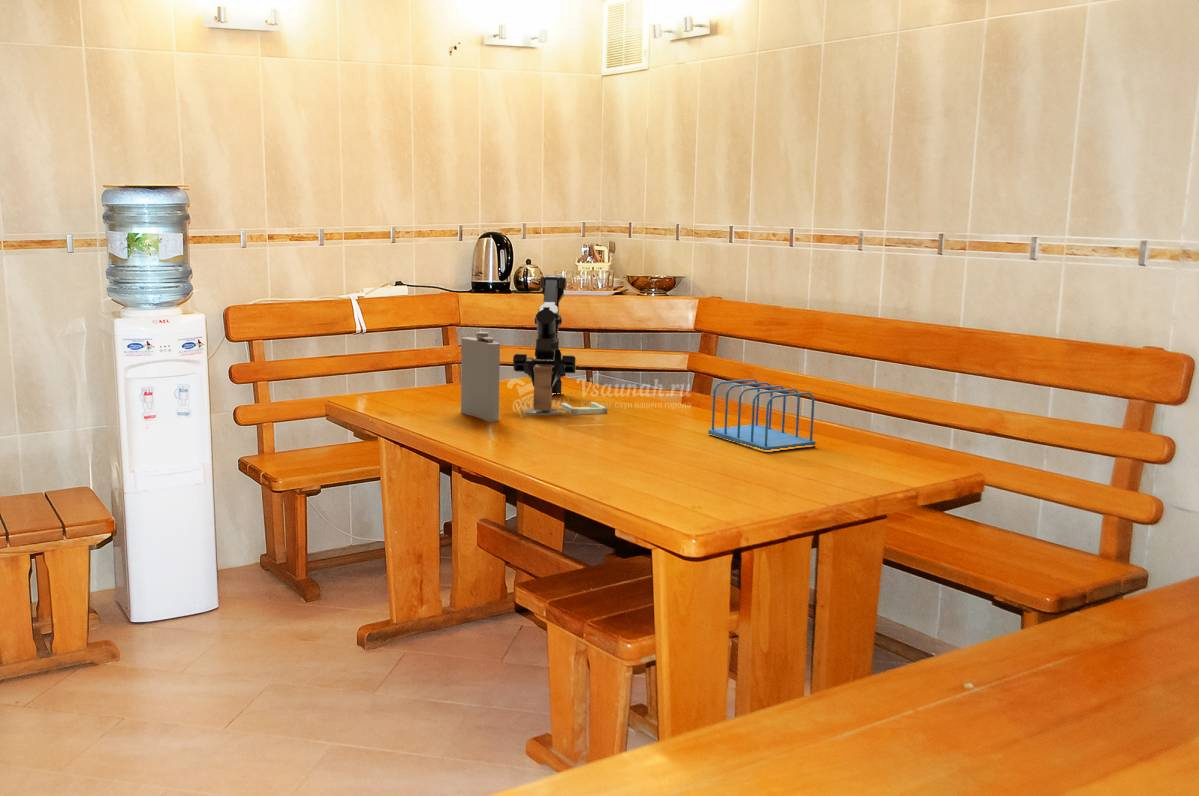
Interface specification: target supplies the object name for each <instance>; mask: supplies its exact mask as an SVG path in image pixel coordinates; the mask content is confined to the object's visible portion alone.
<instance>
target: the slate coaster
mask: <svg viewBox="0 0 1199 796" xmlns="http://www.w3.org/2000/svg"><path fill="white" fill-rule="evenodd" d="M523 412H524V413H525V414H527V415H531V416H532V415H533V416H555V415H559V414H561V413H562V412H561V410H558V409H555V408H551V410H534V408H529V409H528V408H527V409H524V411H523Z"/></svg>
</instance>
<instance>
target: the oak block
mask: <svg viewBox="0 0 1199 796" xmlns="http://www.w3.org/2000/svg"><path fill="white" fill-rule="evenodd" d="M552 373H553V372H552V365H542V364H536V365H535V366H534V387H533V409H534V410H551V409H552V405H553V404H552V402H553V401H552V397H553V396H552V387H551V380H552Z"/></svg>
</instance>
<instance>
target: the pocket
mask: <svg viewBox="0 0 1199 796" xmlns="http://www.w3.org/2000/svg"><path fill="white" fill-rule="evenodd" d="M560 409H562V410H564V412H565V411H566V412H567V413H568V414H570V415H572V416H574V415H596V414H597V415H599V414H608V407H606V406H604V405H601V404H600V403H597V402H595V401H590V402H589V406H581V407H574V406H572V405H570V404H569V403H566V402H561V403H560Z"/></svg>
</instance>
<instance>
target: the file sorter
mask: <svg viewBox="0 0 1199 796" xmlns="http://www.w3.org/2000/svg"><path fill="white" fill-rule="evenodd" d="M746 382H751V383H746ZM731 383H732V385H730V386H729V387H728V389H727V390H726V392H725V408H724V409H725V410H724V427H718V428H717V427H716V428H715V415H716V414H715V413H716V412H715V411H716V392H717V388H718V387H719V386H720V385H723V384H731ZM733 383H734V384H733ZM735 383H739V384H735ZM761 385H763V386H761ZM764 385H766V386H764ZM747 386H749V387H747ZM750 386H753V387H750ZM754 386H755V387H754ZM756 386H757V387H756ZM736 387H747V388H743V390H741V392H740V393H739V396H738V410H737V412H738V414H737V425H736V426H729V427H728V411H729V409H728V408H729V394H730V392H731V390H732V389H733V388H736ZM776 388H777V389H776ZM778 388H779V389H778ZM765 389H769V390H765ZM753 390H756V394H755V395H754V397H753V399H752V404H751V405H752V408H751V424H745V425H741V418H742V417H741V413H742V411H741V408H742V397H743V395H744V394H745V392H747V391H753ZM760 390H763V391H760ZM712 392H713V393H712V412H711V413H712V414H711V415H712V416H711V428H709V429H708V432H707V435H708V434H712V435H715V436H718V437H721V438H725V439H728V440H731V441H735V442H738V443H742V444H746V445H749V446H752V447H757V448H760V449H763V450H771V449H780V448H788V447H796V446H805V445H815V444H817V443H816V442H817V441H815V440H813V436H814V435H813V434H814V420H815V419H814V418H815V417H814V416H815V415H814V414H815V397H814V395H813V394H812V393H811V392H809V391H807V392H806V391H804V392H799V391H798V390H797V389H795V388H787V389H786V388H785V387H783V386H782V385H771V384H770V383H769V382H764V381H763V382H759V381H757V380H756V379H751V378H750V379H749V378H748V379H739V380H738V379H736V380H734V379H733V380H727V381H720V382H718V383H716V384H715V386H714V387H713V391H712ZM787 392H794V393H787ZM774 393H782V394H775V395H773V394H774ZM762 394H770V395H769V396H770V397H769V399H768V400H767V402H766V411H765V412H766V413H765V426H764V425H761V424H759V408H760V406H759V405H760V395H762ZM802 395H803V396H806V395H807V396H809V397H810V398H811V411H810V412H811V413H810V417H811V418H810V431H809V438H806V437H802V436H799V422H800V421H799V420H800V407H801V406H800V405H801V404H800V403H801V399H800V398H801V397H800V396H802ZM793 396H797V400H796V421H795V434H791V433H788V432H785V420H786V401H787V400H786V399H787V397H793ZM782 397H783V400H782V401H783V403H782V420H781V430H778V429H775V428H771V426H772V415H773V414H772V412H773V411H772V410H773V399H776V398H782ZM755 408H756V411H755Z"/></svg>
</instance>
